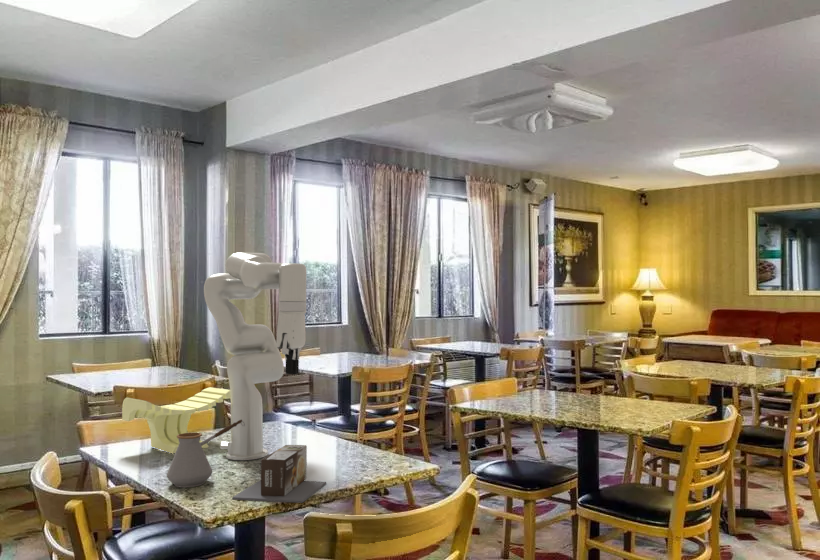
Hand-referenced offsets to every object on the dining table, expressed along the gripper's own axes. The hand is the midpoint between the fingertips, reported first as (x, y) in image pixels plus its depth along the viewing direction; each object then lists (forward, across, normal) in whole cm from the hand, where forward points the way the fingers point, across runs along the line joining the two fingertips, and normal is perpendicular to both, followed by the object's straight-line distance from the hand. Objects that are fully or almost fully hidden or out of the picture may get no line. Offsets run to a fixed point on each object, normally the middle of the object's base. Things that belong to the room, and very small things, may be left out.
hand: (292, 373), depth 191 cm
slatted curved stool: (+30, -24, -51) cm, 64 cm away
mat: (+27, +18, +5) cm, 33 cm away
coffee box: (+22, +8, +5) cm, 24 cm away
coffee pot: (+28, +12, -19) cm, 36 cm away
